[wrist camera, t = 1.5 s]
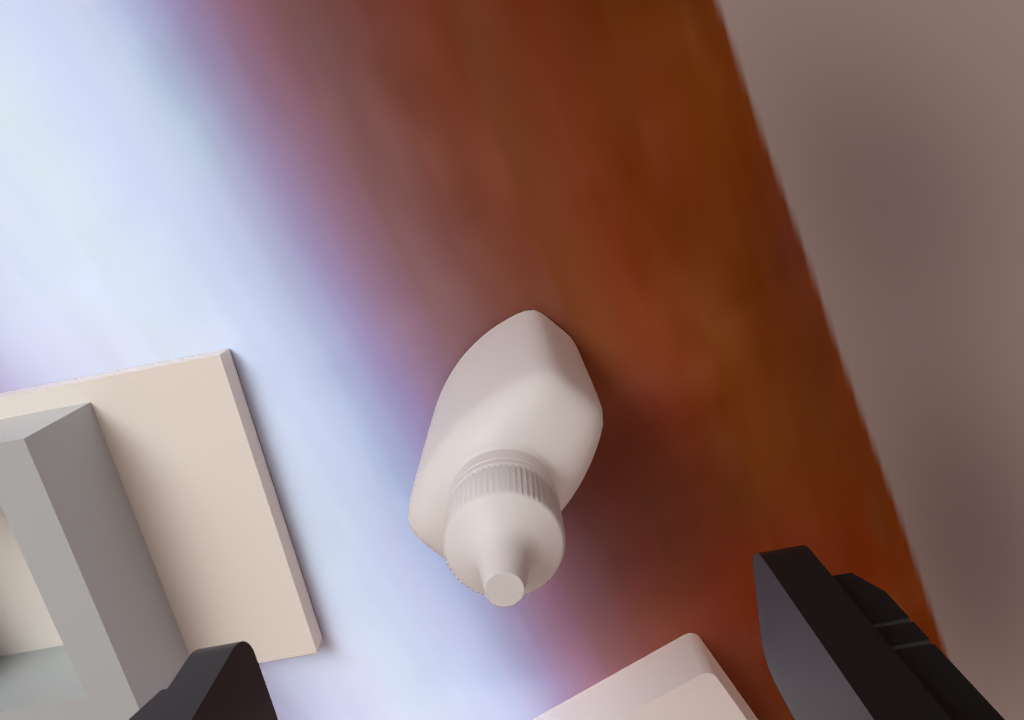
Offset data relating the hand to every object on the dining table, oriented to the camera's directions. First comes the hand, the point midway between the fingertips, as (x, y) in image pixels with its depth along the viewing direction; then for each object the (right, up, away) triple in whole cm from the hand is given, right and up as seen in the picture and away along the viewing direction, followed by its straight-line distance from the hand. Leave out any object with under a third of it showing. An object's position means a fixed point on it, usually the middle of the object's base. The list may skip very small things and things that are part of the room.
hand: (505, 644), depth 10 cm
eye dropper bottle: (0, +4, +13) cm, 13 cm away
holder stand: (-17, -2, +14) cm, 22 cm away
